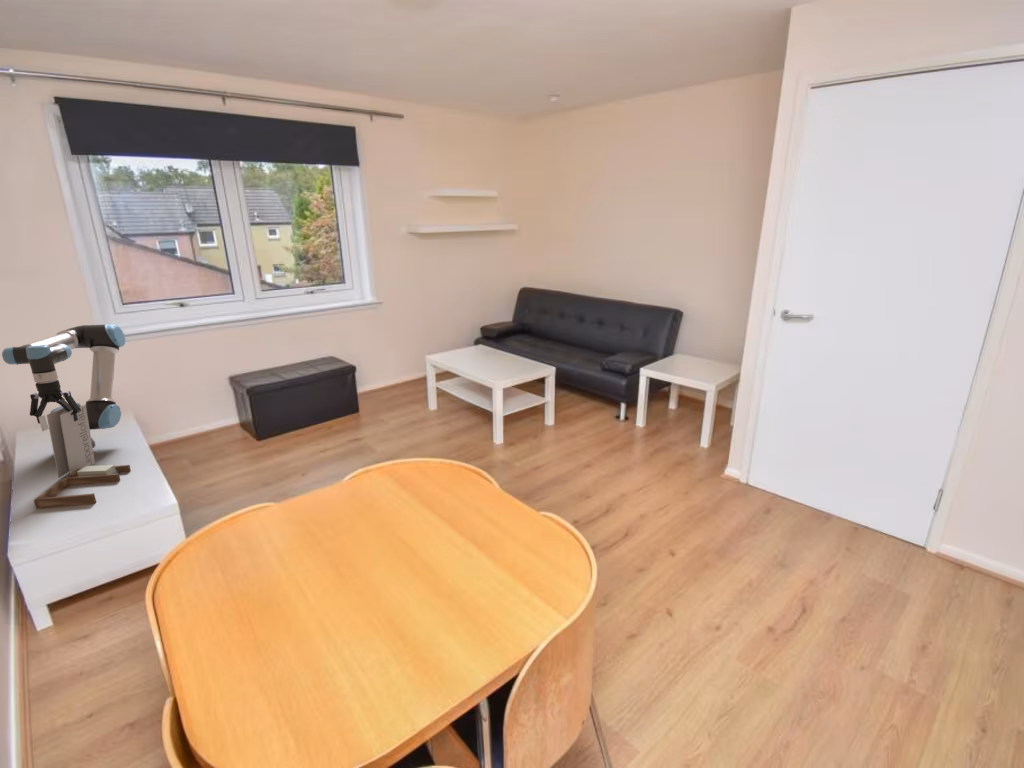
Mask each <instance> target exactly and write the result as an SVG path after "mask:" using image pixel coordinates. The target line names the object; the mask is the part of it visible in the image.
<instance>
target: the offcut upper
mask: <svg viewBox="0 0 1024 768" xmlns="http://www.w3.org/2000/svg"><path fill="white" fill-rule="evenodd" d="M115 466H116V465H115V464H107V465H102V464H101V465H93V466H85V467H84V468H82V469H81V470H79V471H77V474H78V477H80V476H93V475H105V474H112V473H114V472H115V471H116V469H115Z"/></svg>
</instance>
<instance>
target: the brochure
mask: <svg viewBox="0 0 1024 768" xmlns="http://www.w3.org/2000/svg"><path fill="white" fill-rule="evenodd" d="M79 408H80V409H81V411H80V412H78V413H77V417H78V420H77V421H74V415H71V414H72V412H73V410H72V411H70V412H67V411H66V410H65V409H64V408H61V409H59V410H57V411H55V412H52V413H51V412H50V413H48V414H46V420H47V425H48V428H49V429H48V431H49V435H50V439H51V445H52V446H51V447H52V450H53V451H52V452H53V455H54V456H53V457H54V461H55V466H56V467H55V468H56V471H57V472H56V473H57V477H58V479H59V478H62V477H63V476H64V475H66V474H68V473H69V475H70V474H72V473H73V472H74V471H76V470H78V469H82V468H84V467H85V466H95V465H96V459H95V456H94V455H95V454H94V449H93V447H92V441H91V438H92V436H91V430H90V428H89V422H88V416H87V409H86V403H85V404H83V405H81V406H80V407H79ZM74 428H75V429H74Z"/></svg>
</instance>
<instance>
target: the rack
mask: <svg viewBox="0 0 1024 768" xmlns="http://www.w3.org/2000/svg"><path fill="white" fill-rule="evenodd" d="M115 469H116V470H117V471H118V473H117V474H105V475H93V476H80V477H78V474H77V471H79V470H81V469H78V470H76V471H74V472H73V473H72V474H70V473H69V475H68V476H65V478H63V479H61V480H60V481H59V482H57V483H56V484H55V485H53V486H52V487H50V488H49V489H47V490H45V491H44V492H43V493H41V494H40V495H38V497H36V498H34V499H33V503H34V506H35V509H36V510H40V509H50V508H51V509H52V508H60V507H71V506H72V507H74V506H83V505H84V506H85V505H93V504H94V505H95V504H96V503H97V499H96V496H95V493H85V494H83V493H82V494H81V493H80V494H72V495H61V496H58V495H59V494H60V493H61V492H62V491H64V490H65V489H66V488H67V487H68V486H79V485H80V484H82V485H92V484H93V483H94V484H104V483H117V482H121V477H120V476H121V475H120V473H130V472H131V471H132V470H131V465H130V464H123V465H115ZM57 494H58V495H57Z"/></svg>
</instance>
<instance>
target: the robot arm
mask: <svg viewBox="0 0 1024 768" xmlns="http://www.w3.org/2000/svg"><path fill="white" fill-rule="evenodd" d="M125 344H126V337H125V333H124V331H123V330H122V328H121V327H120V326H119V325H117V324H110V323H108V324H107V323H106V324H89V325H88V324H84V325H79V326H74V327H70V328H67V329H64V330H61V331H58V332H57V333H55V335H53V336H49V337H46V338H43V339H40V340H37V341H34V342H33V341H32V342H31V343H28V344H23V345H20V346H10V347H6V348H4V349H3V350H2V352H1V356H2V360H3V361H4V363H6V364H8V365H17V366H18V365H29V367H30V370H31V374H32V377H33V380H34V383H35V387H36V391H37V392H38V393H37V392H34V393H32V394H30V395H29V397H30V399H31V400H30V408H29V416H30V417H32V416H33V417H36V421H37V423H38V424H40V428H41V431H42V432H46V431H47V430H49V425H48V421H47V417H46V416H45V414H44V411H45V409H46V407H47V404H48V403H49V404H50V403H57V404H59V406H58V407H55V408H53V409H52V410H51V411H50V413H52V412H55V411H57V410H59V409H61V408H64V409H65V410H66V411H67V412H70V411H72V410H73V412H72V414H71V415H74V421H77V420H78V417H77V413H78V412H80V411H81V409H80V408H79V407H80V406H82V405H81V404H80V402H79V403H78V402H76V400H75V399H74V397H73V396H72V393H71V391H69V390H68V391H64V392H63V391H62V390H61V385H60V384H61V383H60V381H59V380H58V379H59V376H58V373H57V369H56V366H55V364H58V363H61V362H64V361H66V360H69V358H70V357H72V354H73V353H72V350H73V349H89V350H90V351H91V352H92V353H93V355H92V369H91V370H92V371H91V382H90V383H91V384H90V395H89V396H90V397H89V399H88V400H86V401H85V404H86V409H87V416H88V422H89V428H90V431H91V430H106V429H112V428H115V427H116V426H117V425H118V424H119V422H120V420H121V417H122V410H121V408H120V406H119V405H117V402H116V400H114V399H113V396H114V394H113V393H114V380H115V379H114V377H115V359H116V354H118V353H119V352H120V348H122V347H124V346H125ZM39 399H41V401H39ZM74 429H75V428H74ZM91 441H92V447H93V448H94V449H95V447H96V441H95V439H93V438H92V437H91Z"/></svg>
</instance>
